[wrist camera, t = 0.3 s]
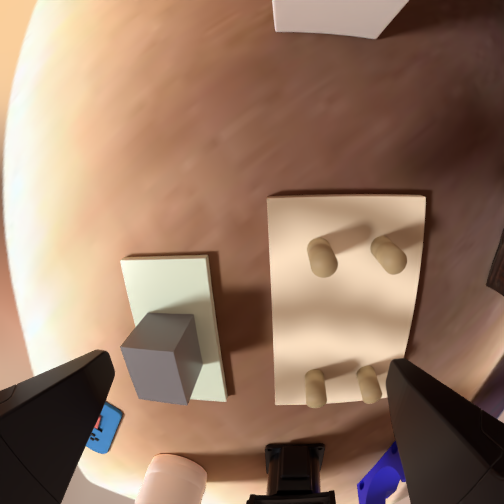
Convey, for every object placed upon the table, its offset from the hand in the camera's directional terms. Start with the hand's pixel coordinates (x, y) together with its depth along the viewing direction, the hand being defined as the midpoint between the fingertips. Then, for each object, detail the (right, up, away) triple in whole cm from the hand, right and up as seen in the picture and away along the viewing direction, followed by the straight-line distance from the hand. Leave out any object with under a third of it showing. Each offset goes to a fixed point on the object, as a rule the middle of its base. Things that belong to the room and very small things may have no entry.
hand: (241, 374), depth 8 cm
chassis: (+7, -1, +14) cm, 16 cm away
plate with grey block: (-6, -3, +16) cm, 18 cm away
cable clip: (+18, -23, +21) cm, 36 cm away
